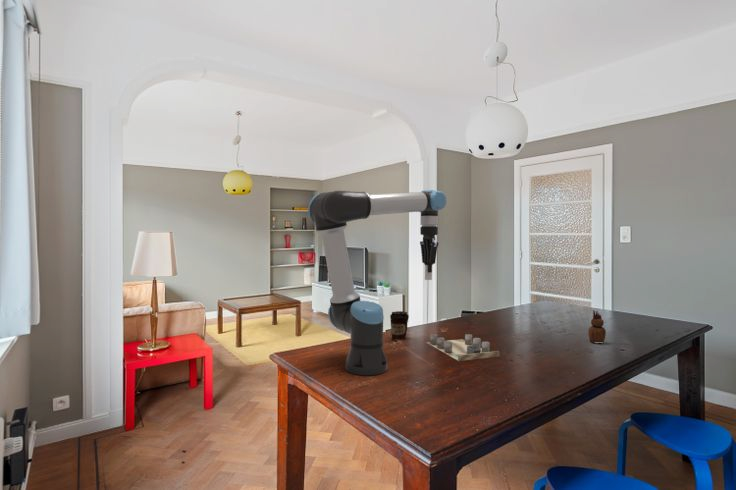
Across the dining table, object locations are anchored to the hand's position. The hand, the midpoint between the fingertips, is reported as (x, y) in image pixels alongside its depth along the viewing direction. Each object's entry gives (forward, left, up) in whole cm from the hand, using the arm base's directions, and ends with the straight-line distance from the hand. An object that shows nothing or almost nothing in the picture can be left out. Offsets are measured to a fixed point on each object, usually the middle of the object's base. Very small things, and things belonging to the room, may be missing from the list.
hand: (428, 279), depth 177 cm
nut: (+7, -24, -27) cm, 37 cm away
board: (+7, -16, -28) cm, 33 cm away
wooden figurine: (+74, -22, -29) cm, 82 cm away
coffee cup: (-10, +8, -29) cm, 31 cm away
